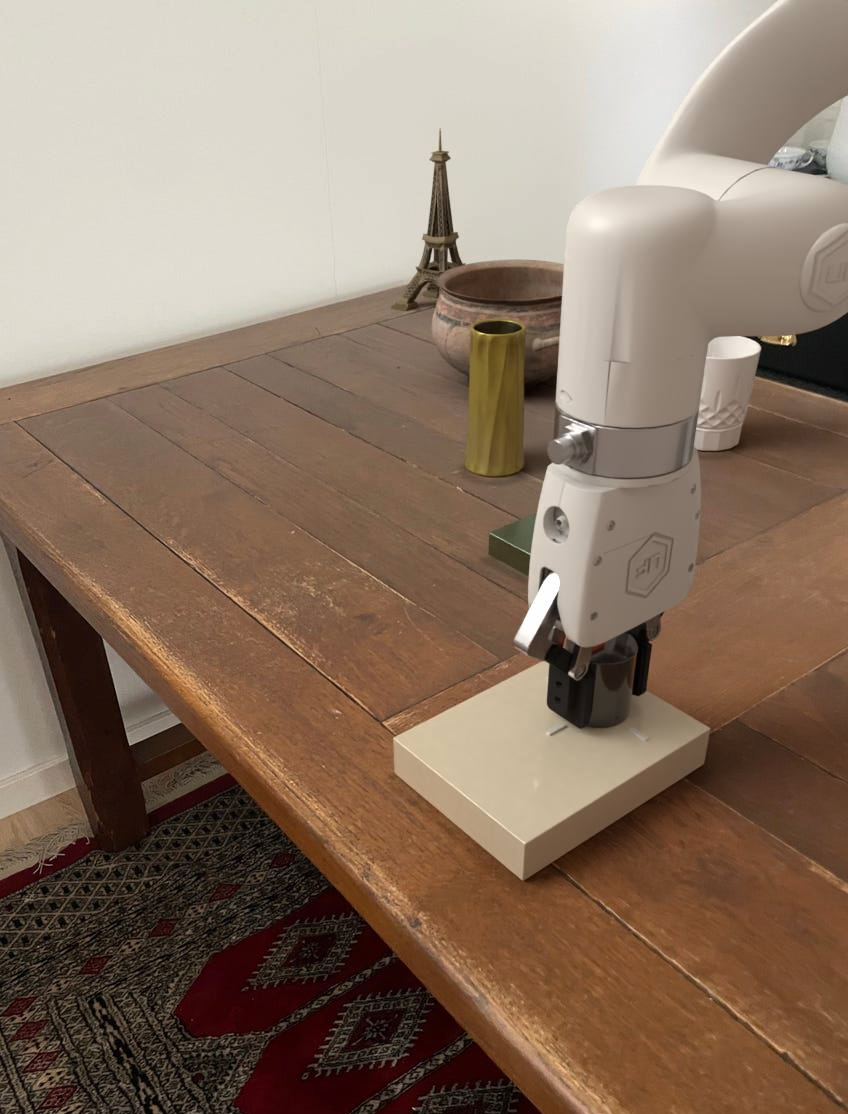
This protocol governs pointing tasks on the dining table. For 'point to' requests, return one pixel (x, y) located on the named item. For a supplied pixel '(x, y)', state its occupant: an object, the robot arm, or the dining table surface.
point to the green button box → (514, 543)
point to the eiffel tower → (434, 239)
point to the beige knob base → (543, 768)
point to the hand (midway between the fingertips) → (596, 698)
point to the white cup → (725, 391)
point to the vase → (496, 398)
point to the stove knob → (611, 679)
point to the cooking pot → (501, 310)
